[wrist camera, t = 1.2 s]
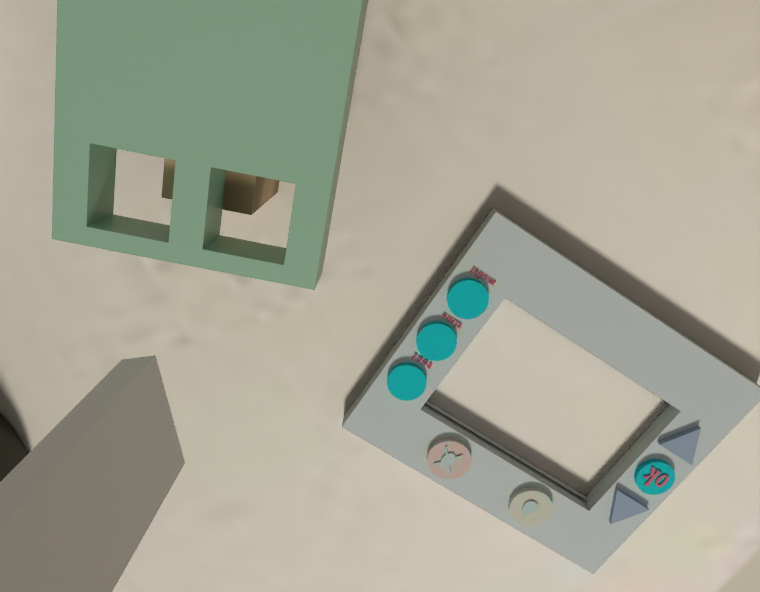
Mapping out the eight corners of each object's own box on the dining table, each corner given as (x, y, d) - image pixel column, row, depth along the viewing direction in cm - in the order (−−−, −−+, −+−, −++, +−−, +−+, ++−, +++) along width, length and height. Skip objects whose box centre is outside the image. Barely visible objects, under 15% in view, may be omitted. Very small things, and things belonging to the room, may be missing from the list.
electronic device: (772, 396, 35) (595, 579, 39) (750, 378, 37) (585, 553, 41) (497, 213, 32) (340, 431, 37) (491, 205, 34) (344, 411, 39)
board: (81, 225, 29) (51, 238, 26) (97, -193, 24) (62, -223, 21) (322, 272, 29) (314, 289, 27) (390, -132, 24) (387, -155, 22)
